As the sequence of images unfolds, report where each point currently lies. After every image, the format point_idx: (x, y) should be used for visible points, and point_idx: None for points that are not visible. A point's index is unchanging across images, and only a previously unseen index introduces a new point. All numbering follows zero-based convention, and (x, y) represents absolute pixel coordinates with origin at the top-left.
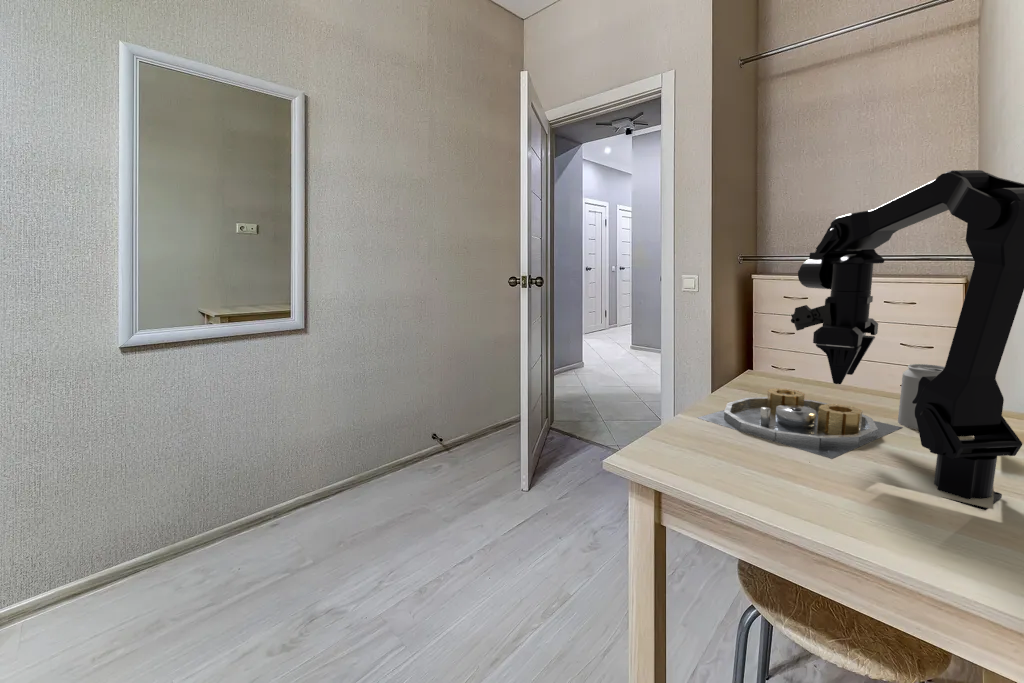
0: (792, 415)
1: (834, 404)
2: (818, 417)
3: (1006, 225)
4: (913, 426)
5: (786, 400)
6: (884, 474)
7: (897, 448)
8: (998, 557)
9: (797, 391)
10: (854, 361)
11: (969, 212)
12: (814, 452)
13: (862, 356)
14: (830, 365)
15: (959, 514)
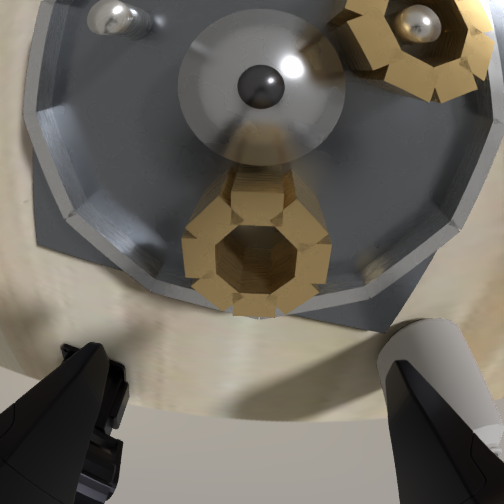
0: (179, 95)
1: (319, 235)
2: (236, 176)
3: None
4: (385, 350)
5: (346, 31)
6: (80, 308)
7: (248, 324)
8: (6, 363)
9: (472, 73)
10: (402, 447)
11: None
12: (38, 209)
13: (399, 489)
14: (15, 406)
15: (46, 360)
